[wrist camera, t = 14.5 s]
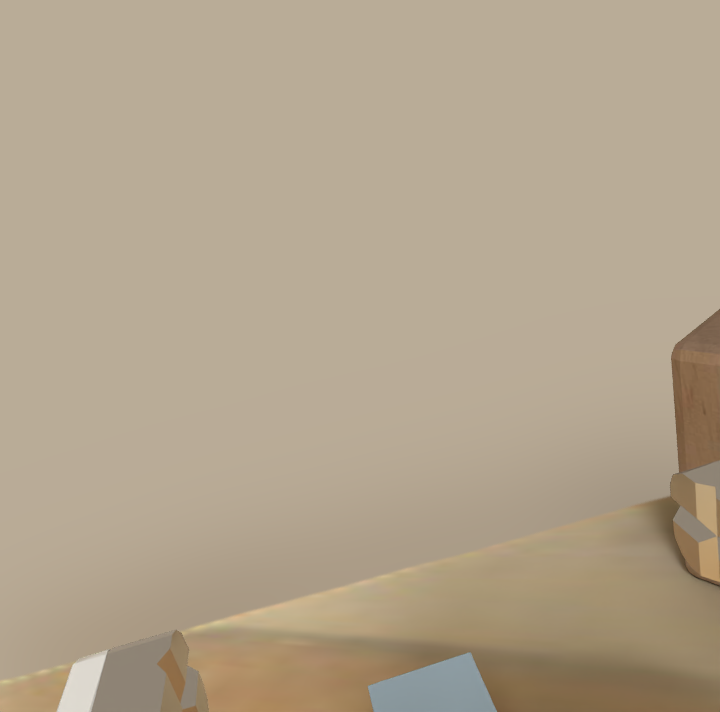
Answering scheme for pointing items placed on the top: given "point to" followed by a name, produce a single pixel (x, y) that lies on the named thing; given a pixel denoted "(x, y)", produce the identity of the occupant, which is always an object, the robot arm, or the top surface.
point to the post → (434, 689)
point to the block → (698, 399)
